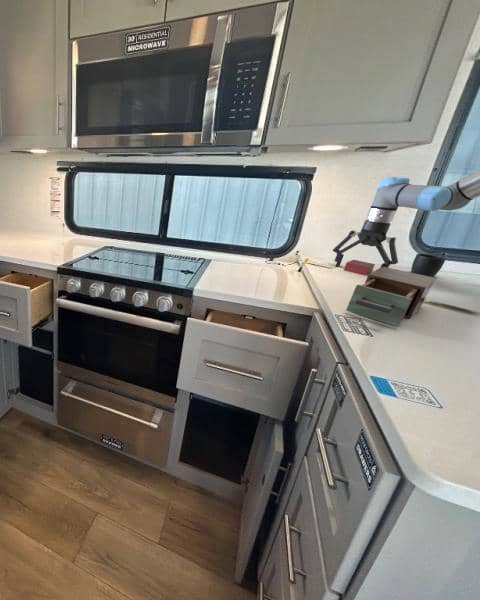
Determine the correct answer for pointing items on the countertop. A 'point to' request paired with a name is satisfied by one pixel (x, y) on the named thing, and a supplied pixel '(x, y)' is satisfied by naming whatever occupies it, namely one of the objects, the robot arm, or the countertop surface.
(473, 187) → the robot arm
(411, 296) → the drawer
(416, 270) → the mug
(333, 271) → the countertop surface
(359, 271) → the red rectangular block
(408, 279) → the cabinet
